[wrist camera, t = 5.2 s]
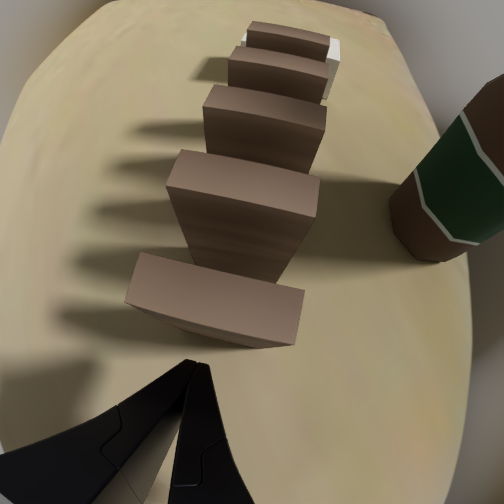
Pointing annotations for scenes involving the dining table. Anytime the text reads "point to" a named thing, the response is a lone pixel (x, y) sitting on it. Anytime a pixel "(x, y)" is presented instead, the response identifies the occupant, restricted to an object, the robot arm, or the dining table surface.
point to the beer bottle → (456, 184)
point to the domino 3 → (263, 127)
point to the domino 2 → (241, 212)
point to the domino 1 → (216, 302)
